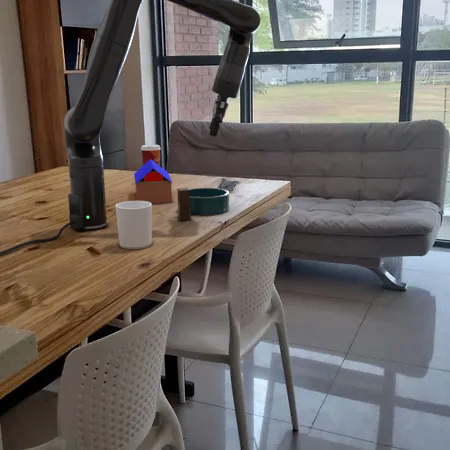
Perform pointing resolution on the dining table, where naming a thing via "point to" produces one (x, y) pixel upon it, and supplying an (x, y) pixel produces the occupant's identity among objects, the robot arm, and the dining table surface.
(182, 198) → the brown rectangular block
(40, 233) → the dining table surface
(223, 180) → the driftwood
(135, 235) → the mug
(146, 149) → the paper cup
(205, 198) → the bowl
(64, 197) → the dining table surface
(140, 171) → the house
